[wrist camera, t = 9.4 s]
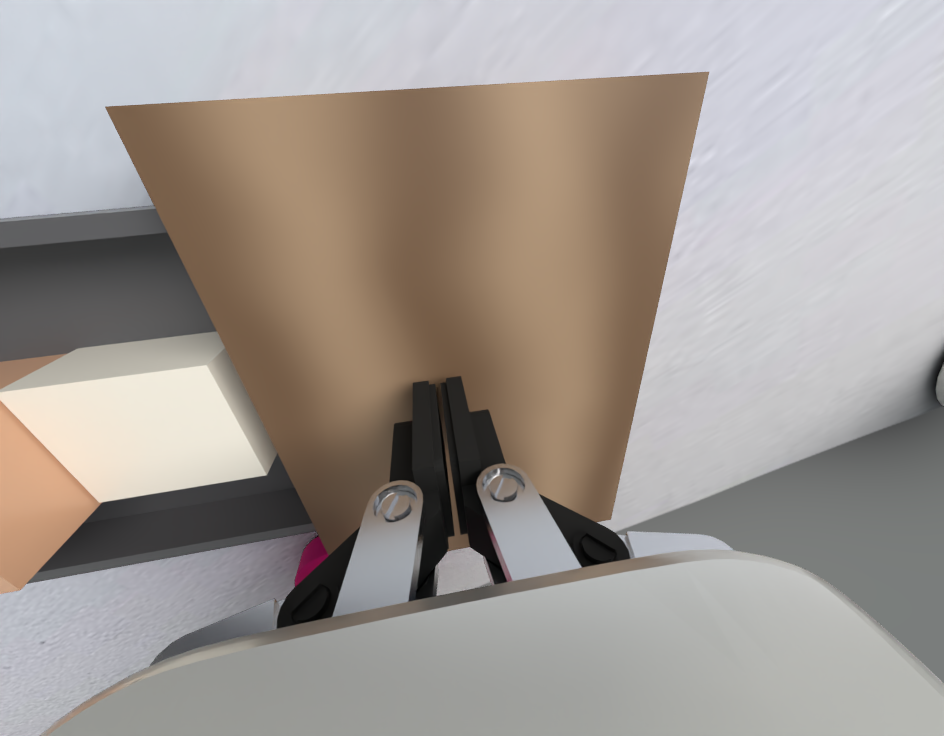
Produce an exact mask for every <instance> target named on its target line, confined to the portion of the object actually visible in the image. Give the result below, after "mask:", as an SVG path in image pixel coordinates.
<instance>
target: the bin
mask: <svg viewBox="0 0 944 736" xmlns="http://www.w3.org/2000/svg"><path fill="white" fill-rule="evenodd" d="M216 331H217V330H216V328H215V326H214V324H213V322H212V320H211V318H210V316H209V314H208V312H207V310H206V308H205V306H204V304H203V302H202V300H201V298H200V296H199V294H198V292H197V290H196V288H195V286H194V284H193V282H192V280H191V278H190V276H189V274H188V272H187V270H186V268H185V266H184V264H183V262H182V260H181V258H180V256H179V254H178V252H177V250H176V248H175V246H174V244H173V242H172V240H171V238H170V236H169V234H168V232H167V230H166V228H165V226H164V224H163V222H162V220H161V218H160V216H159V214H158V212H157V210H156V208H155V206H143V207H132V208H120V209H108V210H97V211H85V212H73V213H62V214H50V215H38V216H26V217H15V218H3V219H0V362H3V361H11V360H20V359H28V358H36V357H44V356H52V355H61V354H68V353H70V352H72V351H74V350H76V349H78V348H85V347H93V346H101V345H110V344H118V343H126V342H134V341H142V340H151V339H159V338H167V337H175V336H183V335H192V334H200V333H208V332H216ZM314 531H316V529H315V527H314V525H313V523H312V521H311V519H310V517H309V515H308V513H307V511H306V509H305V507H304V505H303V503H302V501H301V499H300V497H299V495H298V493H297V491H296V489H295V487H294V485H293V483H292V481H291V479H290V477H289V475H288V473H287V471H286V469H285V467H284V465H283V463H282V461H281V459H280V457H279V455H278V453H277V455H276V457H275V459H274V461H273V463H272V465H271V468H270V470H269V472H268V474H267V475H265V476H259V477H253V478H247V479H241V480H235V481H229V482H223V483H216V484H210V485H204V486H198V487H192V488H186V489H180V490H174V491H168V492H162V493H155V494H149V495H143V496H137V497H131V498H125V499H119V500H113V501H107V502H102V503H101V504H100V505H99V506H98V507H97V509H96V510H95V511H94V512H93V513H92V514H91V515H90V516H89V517H88V518H87V519H86V520H85V521H84V522H83V524H82V525H81V526H80V527H79V528H78V529H77V530H76V531H75V532H74V533H73V534H72V535H71V536H70V537H69V538H68V540H67V541H66V542H65V543H64V544H63V545H62V546H61V547H60V548H59V549H58V550H57V551H56V552H55V553H54V555H53V556H52V557H51V558H50V559H49V560H48V561H47V562H46V563H45V564H44V565H43V566H42V567H41V568H40V570H39V571H38V572H37V573H36V574H35V575H34V576H33V577H32V578H31V579H30V580H29V581H28V582H27V583H26V584H28V583H33V582H39V581H44V580H50V579H55V578H61V577H66V576H72V575H77V574H83V573H88V572H94V571H99V570H105V569H110V568H116V567H121V566H127V565H132V564H138V563H143V562H149V561H154V560H160V559H165V558H171V557H176V556H182V555H187V554H193V553H198V552H204V551H209V550H215V549H220V548H226V547H231V546H237V545H242V544H248V543H253V542H259V541H264V540H270V539H275V538H281V537H286V536H292V535H297V534H303V533H308V532H314Z"/></svg>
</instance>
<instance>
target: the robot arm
mask: <svg viewBox="0 0 944 736" xmlns="http://www.w3.org/2000/svg"><path fill="white" fill-rule="evenodd" d="M440 386H441V394H442V402H443V410H444V418H445V426H446V434H447V442H448V450H449V458H450V466H451V473H452V480H453V487H454V493H455V500H456V507H457V514H458V521H459V528H460V535H463V534H468V540H469V545H470V547H471V548H472V549H474V550H475V551H477V552H478V553H480V554H481V555H483V559H484V564H485V567H486V569H487V572H488V575H489V578H490V581H491V584H492V585H490V586H485V587H480V588H475V589H470V590H465V591H460V592H455V593H450V594H445V595H440V596H436V595H437V583H438V563H439V561H440V560H441V559H442V558H443V556H444V555H445V554H446V553H447V551H448V549H449V542H448V537H452V536H455V533H454V524H453V515H452V506H451V497H450V489H449V480H448V471H447V462H446V453H445V445H444V438H443V432H442V425H441V418H440V412H439V405H438V399H437V392H436V386H435V384H430V385H429V381H421V382H414V383H413V414H412V421H406V422H400V423H395V424H394V429H393V441H392V454H391V467H390V479H389V483H388V484H385V485H383V486H382V487H380V488H379V489H378V490H376V492H375V493H374V494H373V495H372V496H371V498H370V500H369V502H368V504H367V507H366V510H365V513H364V517H363V520H362V523H361V526H360V527H359V528H358V529H357V530H356V531H355V532H354V533H353V534H351V535H350V536H349V537H348V538H347V539H346V540H345V541H344V542H343V543H342V544H341V545H340V546H339V547H338V548H336V549H335V550H334V551H333V552H332V553H331V554H330V555H329V556H328V557H327V558H326V559H325V560H324V561H322V562H321V563H320V564H319V565H318V566H317V567H316V568H315V569H314V570H313V571H312V572H311V573H310V574H309V575H307V576H306V577H305V578H304V579H303V580H302V581H301V582H300V583H299V584H298V585H297V586H296V587H295V588H294V589H293V590H292V591H291V592H290V593H289V595H288V596H287V597H286V599H283V600H281V601H278V602H277V601H276V600H275V598H274V599H272V600H269V601H267V602H264V603H262V604H260V605H257V606H255V607H252V608H250V609H247V610H245V611H243V612H240V613H238V614H235V615H233V616H231V617H228V618H226V619H223V620H221V621H218V622H216V623H214V624H211V625H209V626H206V627H204V628H201V629H199V630H197V631H194V632H192V633H189V634H187V635H185V636H183V637H181V638H179V639H178V640H176V641H174V642H172V643H171V644H170V645H169V646H168V647H166V648H165V649H164V650H163V651H162V652H161V653H160V654H158V656H157V657H156V658H155V659H154V661H153V662H152V663H151V664H150V666H149V667H147V668H145V669H143V670H140V671H138V672H136V673H134V674H132V675H130V676H128V677H127V678H125V679H123V680H121V681H119V682H117V683H116V684H114V685H112V686H110V687H109V688H107V689H105V690H103V691H101V692H100V693H98V694H96V695H94V696H93V697H91V698H90V699H88V700H87V701H85V702H84V703H82V704H81V705H79V706H78V707H76V708H75V709H73V710H72V711H70V712H69V713H68V714H66V715H65V716H63V717H62V718H61V719H59V720H58V721H56V722H55V723H54V724H53V725H52V726H50V727H49V728H48V729H47V730H46V731H45V732H43V733H42V734H41V735H40V736H944V683H942V681H941V680H940V679H938V678H937V677H936V676H935V675H934V674H933V673H932V672H931V671H930V670H929V669H928V668H927V667H926V666H925V665H924V664H923V663H922V662H921V661H920V660H919V659H918V658H916V657H915V656H914V655H913V654H912V653H911V652H910V651H909V650H908V649H907V648H905V647H904V646H903V645H902V644H901V643H900V642H899V641H898V640H897V639H896V638H895V637H893V636H892V635H891V634H890V633H889V632H888V631H887V630H886V629H885V628H884V627H882V626H881V625H880V624H879V623H878V622H877V621H875V620H874V619H873V618H872V617H871V616H870V615H868V614H867V613H866V612H865V611H864V610H863V609H861V608H860V607H859V606H858V605H857V604H856V603H855V602H853V601H852V600H851V599H849V598H848V597H847V596H846V595H844V594H843V593H842V592H841V591H839V590H838V589H836V588H835V587H834V586H832V585H831V584H829V583H828V582H827V581H825V580H823V579H822V578H820V577H818V576H817V575H815V574H813V573H812V572H810V571H807V570H805V569H803V568H801V567H799V566H796V565H793V564H791V563H788V562H785V561H781V560H778V559H774V558H771V557H767V556H762V555H757V554H752V553H746V552H739V551H734V550H733V549H732V548H731V547H729V546H728V545H727V544H725V543H724V542H722V541H720V540H718V539H716V538H714V537H712V536H706V535H702V534H680V533H679V534H678V533H657V532H633V531H627V532H626V535H617V534H616V533H614V532H613V531H611V530H610V529H608V528H606V527H604V526H602V525H600V524H598V523H596V522H594V521H592V520H590V519H588V518H586V517H584V516H582V515H580V514H578V513H576V512H575V511H573V510H571V509H569V508H567V507H565V506H563V505H561V504H559V503H557V502H555V501H553V500H551V499H549V498H547V497H545V496H543V495H541V494H539V493H538V492H537V490H536V488H535V487H534V485H533V483H532V482H531V480H530V478H529V477H528V475H527V474H526V473H525V472H524V471H523V470H522V469H520V468H519V467H517V466H514V465H511V464H506V462H505V459H504V456H503V453H502V450H501V447H500V443H499V440H498V437H497V434H496V431H495V428H494V425H493V421H492V418H491V415H490V412H489V410H488V409H486V410H480V411H473V412H469V408H468V404H467V400H466V395H465V391H464V387H463V382H462V378H461V376H457V377H450V378H446V382H444V383H440ZM936 395H937V399H938V401H939V402H940V404H941V405H942V406H943V407H944V363H943V365H942V368H941V370H940V372H939V375H938V378H937V383H936Z"/></svg>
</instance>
